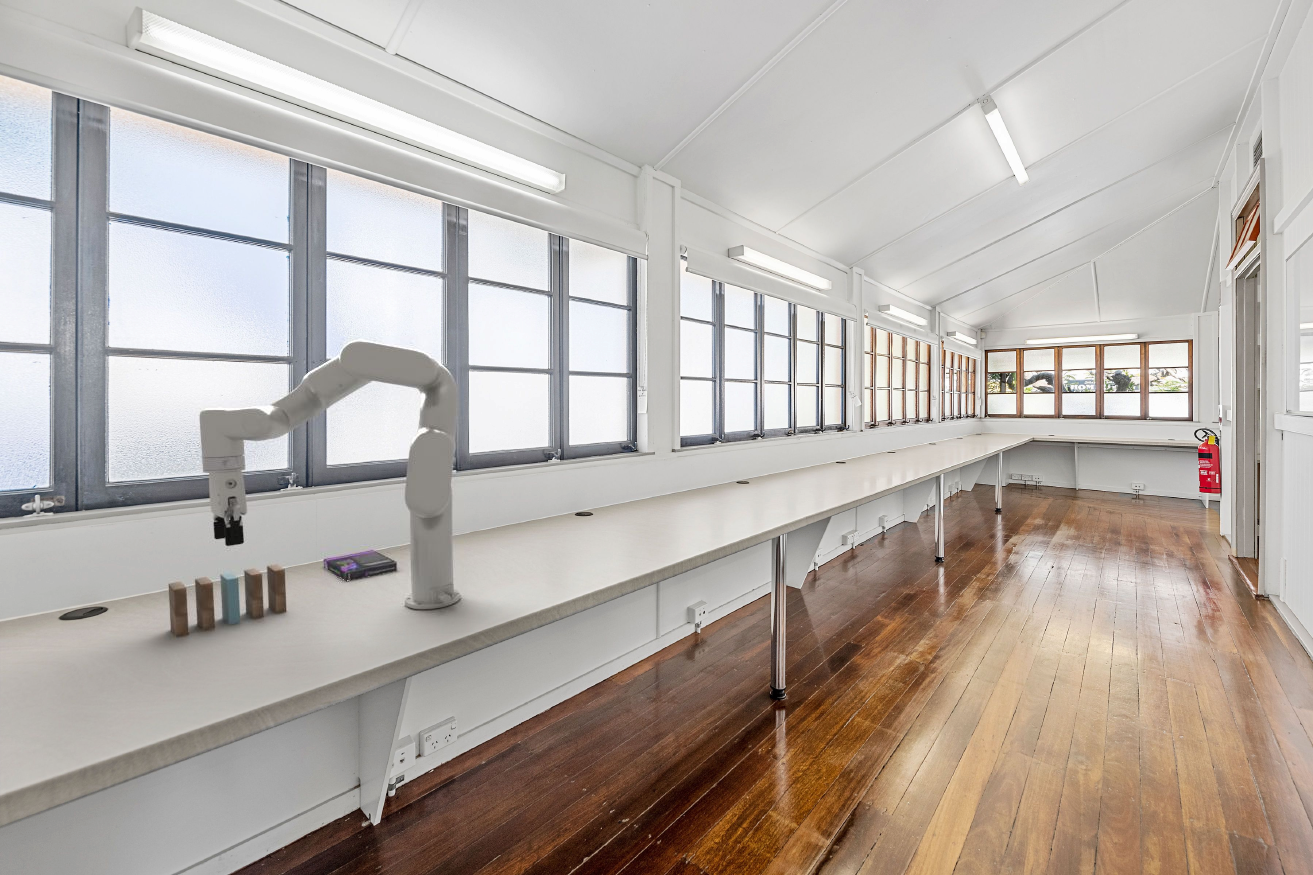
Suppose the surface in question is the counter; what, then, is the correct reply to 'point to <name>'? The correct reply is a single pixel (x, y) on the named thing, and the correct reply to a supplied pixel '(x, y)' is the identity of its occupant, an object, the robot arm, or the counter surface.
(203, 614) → the domino
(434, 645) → the counter surface
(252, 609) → the domino
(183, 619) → the domino
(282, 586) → the domino
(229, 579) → the domino
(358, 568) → the box
